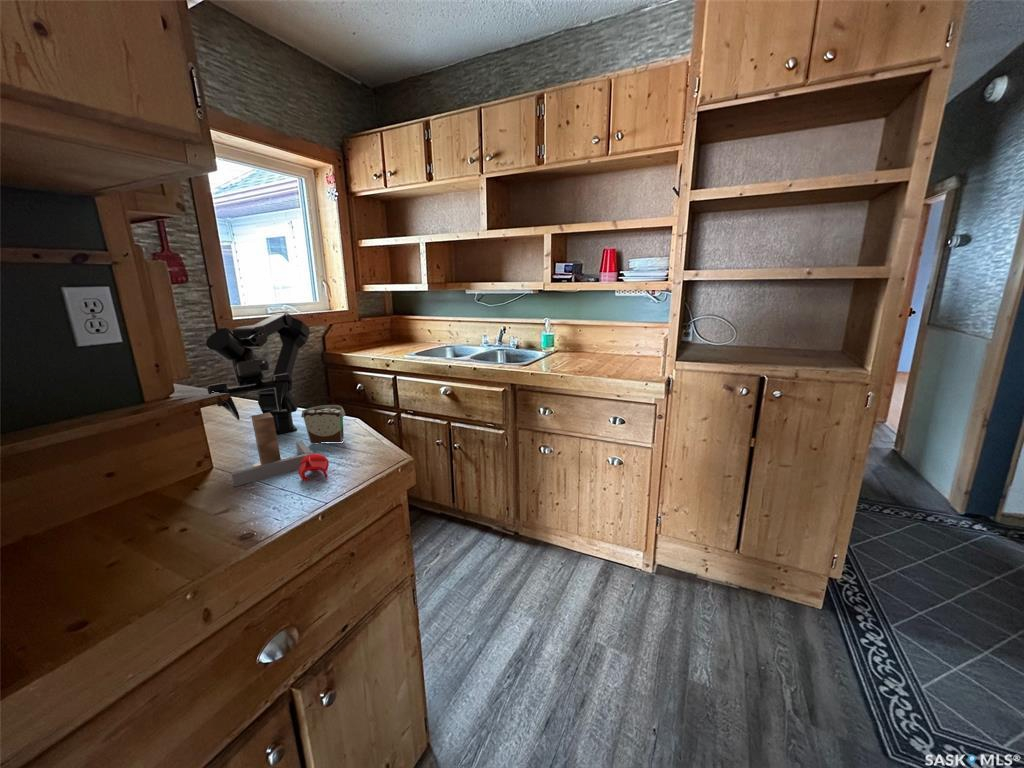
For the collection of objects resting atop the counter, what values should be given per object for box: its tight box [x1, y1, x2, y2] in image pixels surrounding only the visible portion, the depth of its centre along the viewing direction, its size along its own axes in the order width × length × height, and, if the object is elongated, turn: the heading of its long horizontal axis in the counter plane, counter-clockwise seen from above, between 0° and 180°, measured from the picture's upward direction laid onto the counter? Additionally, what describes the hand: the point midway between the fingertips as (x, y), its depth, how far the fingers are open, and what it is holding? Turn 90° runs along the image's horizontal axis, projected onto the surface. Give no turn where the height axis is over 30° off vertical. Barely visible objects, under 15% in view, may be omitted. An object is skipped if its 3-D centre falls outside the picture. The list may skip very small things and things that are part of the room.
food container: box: [301, 404, 346, 444], centre depth 119 cm, size 12×6×10 cm, turn 84°
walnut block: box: [251, 412, 282, 465], centre depth 102 cm, size 4×5×13 cm
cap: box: [297, 453, 330, 482], centre depth 96 cm, size 8×6×6 cm
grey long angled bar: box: [230, 440, 314, 488], centre depth 103 cm, size 12×17×3 cm
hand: (259, 414), depth 105 cm, fingers open, 9 cm apart
